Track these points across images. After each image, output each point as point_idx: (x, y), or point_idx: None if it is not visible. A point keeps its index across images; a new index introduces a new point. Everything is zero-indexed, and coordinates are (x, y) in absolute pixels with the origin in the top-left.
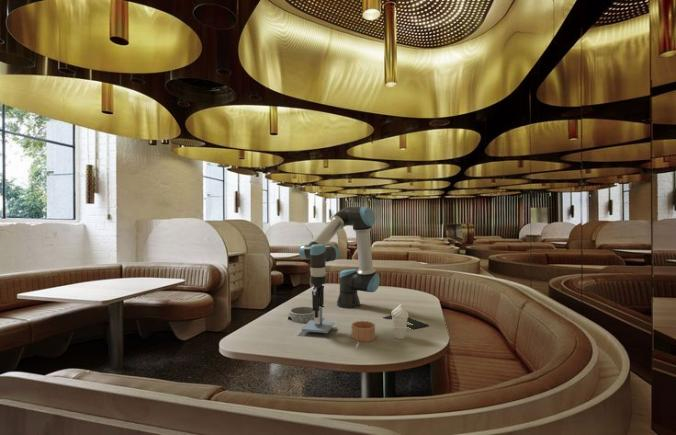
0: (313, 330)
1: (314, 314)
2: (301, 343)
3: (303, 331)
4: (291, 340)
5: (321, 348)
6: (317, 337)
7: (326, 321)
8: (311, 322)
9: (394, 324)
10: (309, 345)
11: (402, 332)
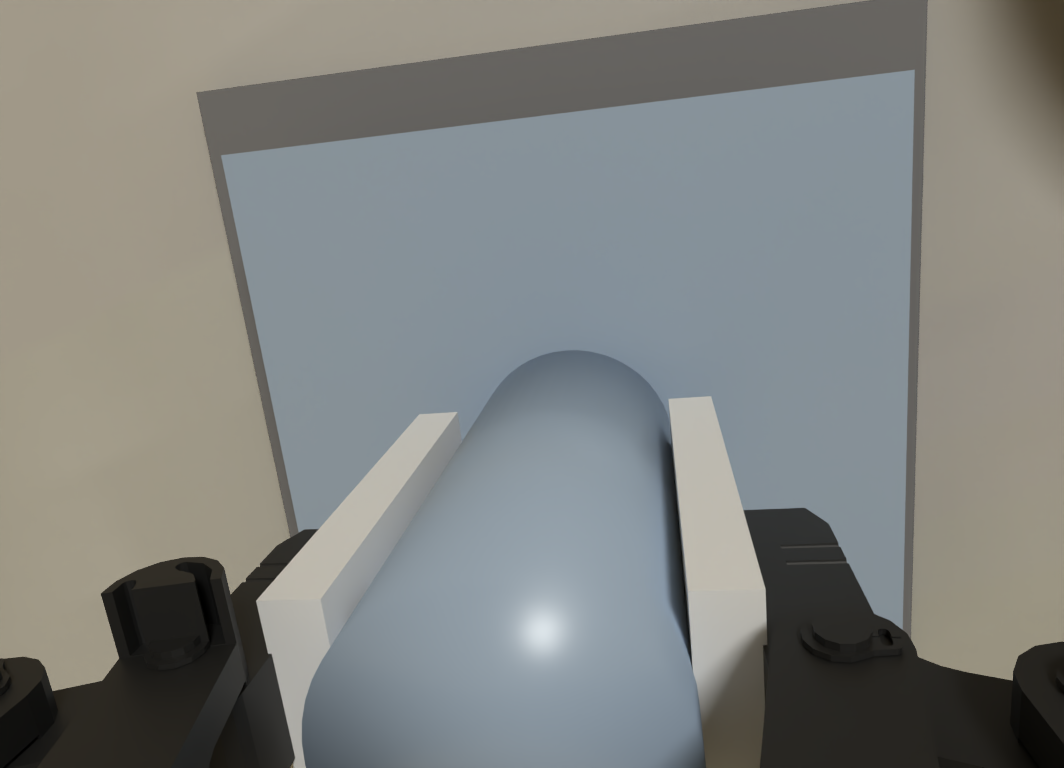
0: (284, 433)
1: (327, 536)
2: (12, 307)
3: (460, 106)
4: (27, 69)
5: (16, 645)
6: (288, 492)
7: (898, 541)
8: (727, 198)
9: None
10: (14, 458)
11: None
